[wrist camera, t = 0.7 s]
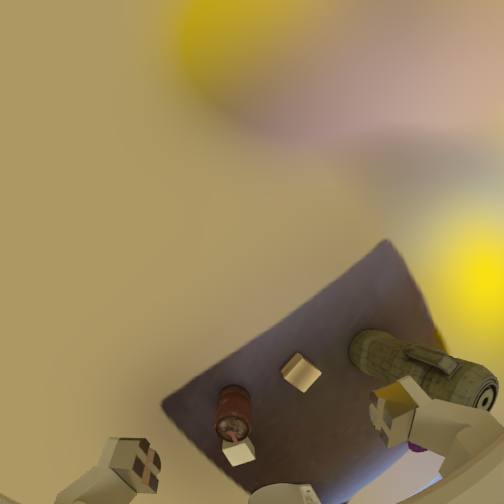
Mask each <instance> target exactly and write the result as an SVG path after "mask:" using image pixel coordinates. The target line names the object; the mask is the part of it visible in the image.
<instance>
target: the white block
mask: <svg viewBox="0 0 504 504" xmlns="http://www.w3.org/2000/svg"><path fill="white" fill-rule="evenodd" d="M222 451H223V453H224V454H225V456H226V457H227V458H228V460H229V461H230V463H231V464H232V466H236V465H239V464H243V463H246V462H249V461H252V460H255V449H254V446H253V444H252V443H251V441H250V440H249V438H248V436H247V437H246V438H245V439H244V440H242V441H240V442H239V443H238V444H236V443H231V442H226V441H224V440H223V445H222Z"/></svg>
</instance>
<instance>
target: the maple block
mask: <svg viewBox="0 0 504 504" xmlns="http://www.w3.org/2000/svg"><path fill="white" fill-rule="evenodd" d="M281 372H282V375H283V377H284V379H286V380H287V381H288V382H290V383H291V384H292V385H294V386H295V387H297V388H298V389H299V390H301V391H302V392H303V393H304V392H305V391H306V390H307V389H308V388H309V387H310V386H311V385H312V383H313V382H314V381H315V380H316V379H317V378H318V377H319V376H320V375H321V372H320V371H319V370H318V369H317V367H316V366H314V365H313V364H312V363H311V362H309V361H308V360H307V359H306V358H304V357H303V356H302V355H300V354H299V353H298V352H297V353H296V354H295V355H294V356H293V358H292V359H291V360H290V361H289V362H288V363H287V364H286V365H285V366H284V368H283V369H282V370H281Z"/></svg>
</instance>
